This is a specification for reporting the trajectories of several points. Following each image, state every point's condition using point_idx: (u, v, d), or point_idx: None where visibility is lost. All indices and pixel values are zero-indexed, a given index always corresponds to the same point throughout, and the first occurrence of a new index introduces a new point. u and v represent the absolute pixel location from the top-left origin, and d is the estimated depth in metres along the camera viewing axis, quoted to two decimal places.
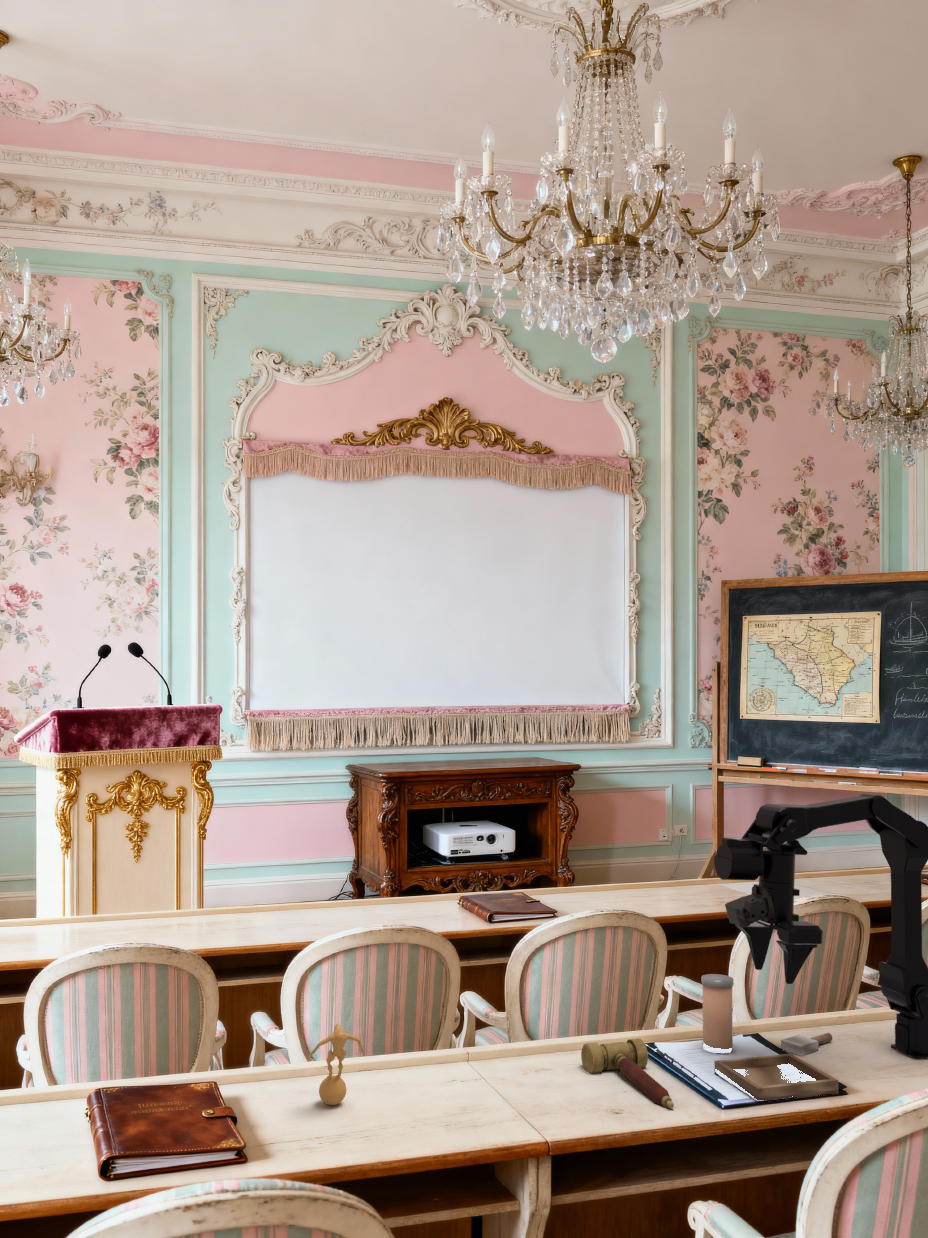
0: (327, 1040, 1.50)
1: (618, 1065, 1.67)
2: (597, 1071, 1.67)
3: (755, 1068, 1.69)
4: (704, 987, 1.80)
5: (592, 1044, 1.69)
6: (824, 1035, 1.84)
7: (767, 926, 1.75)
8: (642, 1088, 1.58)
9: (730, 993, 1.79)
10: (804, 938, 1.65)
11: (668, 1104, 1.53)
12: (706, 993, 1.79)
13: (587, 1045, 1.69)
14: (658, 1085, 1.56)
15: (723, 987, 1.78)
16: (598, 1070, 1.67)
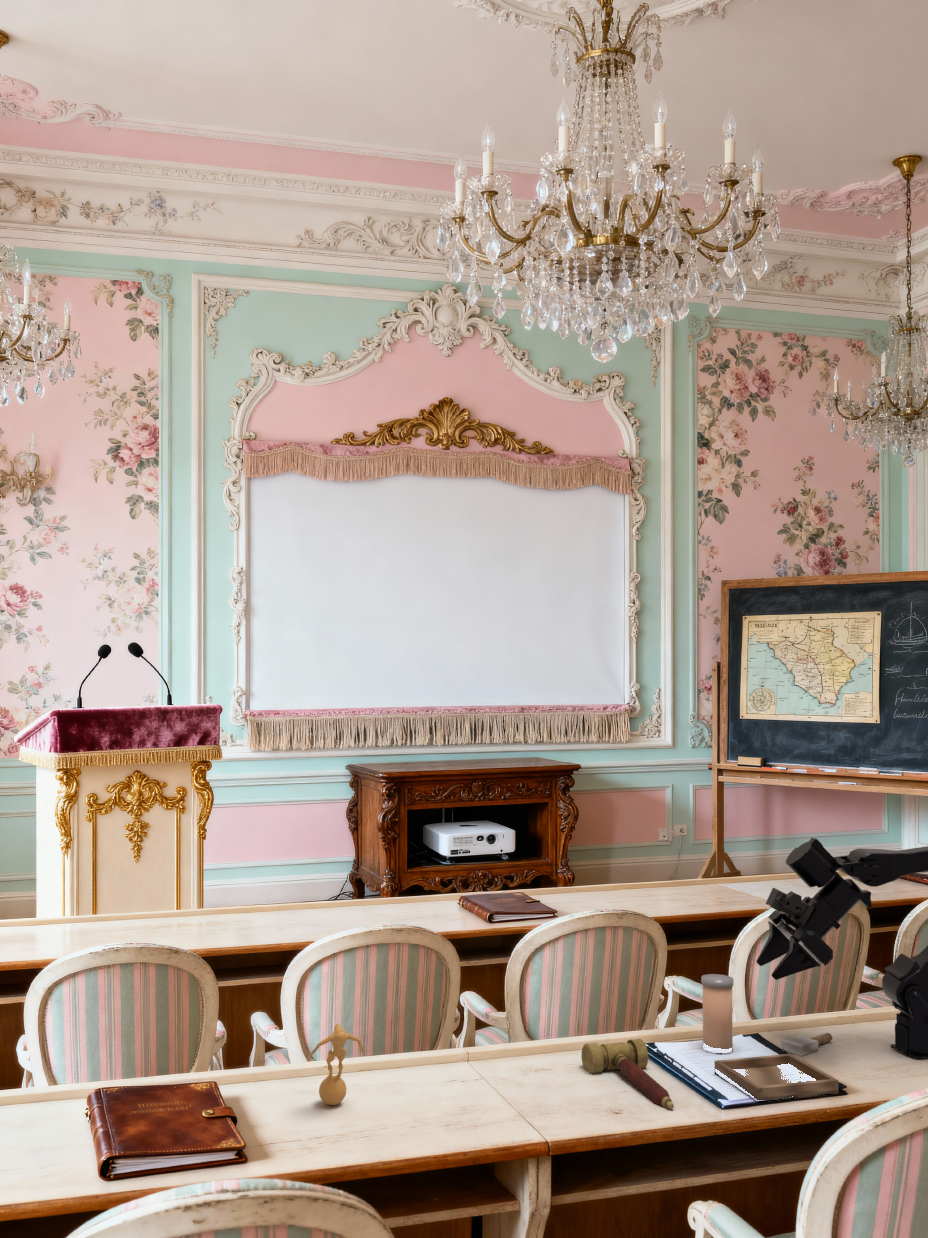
0: (327, 1040, 1.50)
1: (618, 1065, 1.66)
2: (597, 1071, 1.67)
3: (755, 1068, 1.69)
4: (704, 987, 1.80)
5: (592, 1044, 1.69)
6: (824, 1035, 1.84)
7: (792, 934, 1.83)
8: (642, 1089, 1.58)
9: (730, 993, 1.79)
10: (814, 947, 1.72)
11: (668, 1105, 1.52)
12: (706, 993, 1.79)
13: (587, 1045, 1.69)
14: (658, 1086, 1.56)
15: (723, 987, 1.78)
16: (598, 1070, 1.67)
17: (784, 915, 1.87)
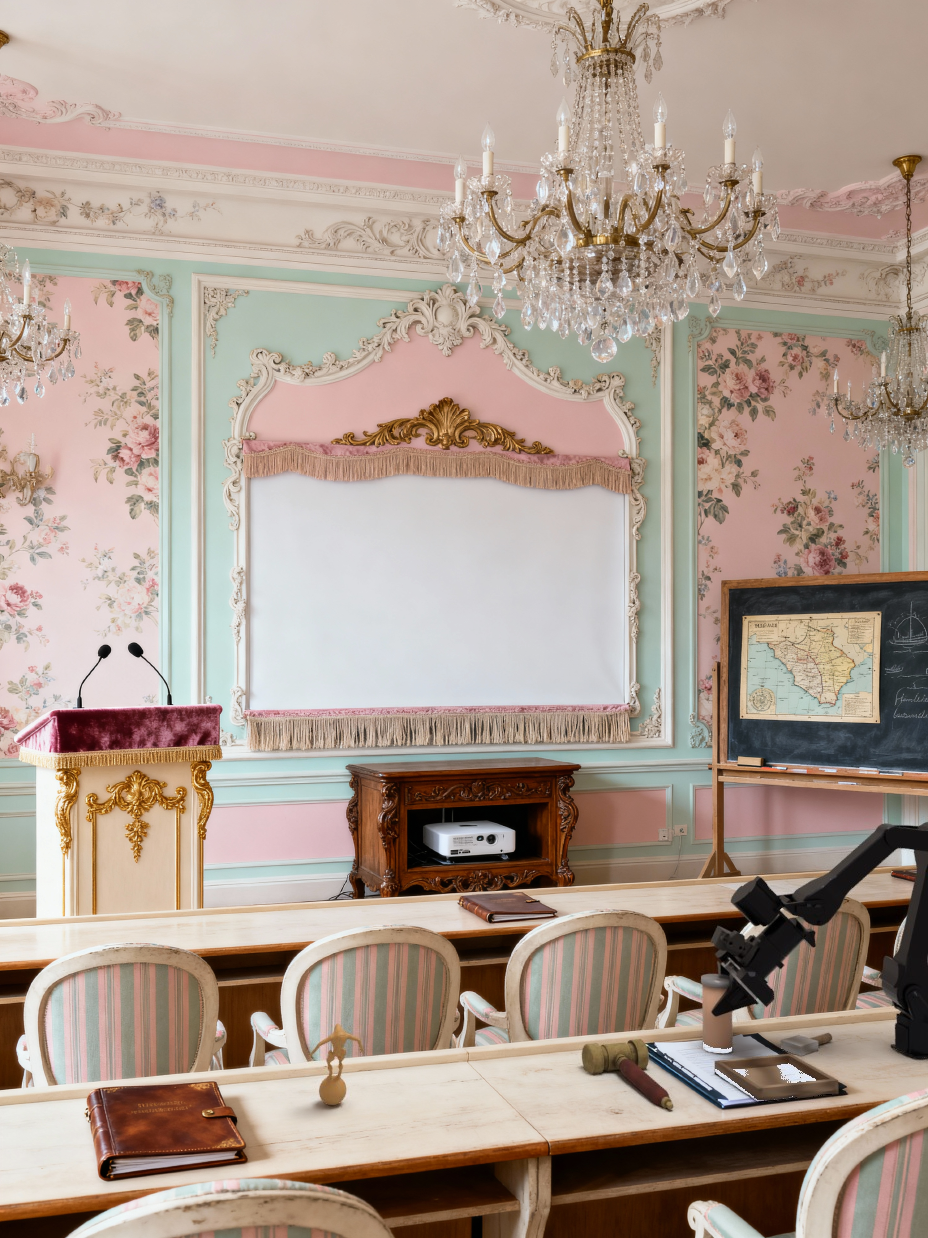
0: (327, 1040, 1.50)
1: (618, 1066, 1.66)
2: (597, 1072, 1.67)
3: (755, 1068, 1.69)
4: (704, 987, 1.80)
5: (592, 1045, 1.68)
6: (824, 1035, 1.84)
7: (737, 973, 1.82)
8: (642, 1089, 1.58)
9: None
10: (755, 988, 1.72)
11: (668, 1105, 1.52)
12: (706, 993, 1.79)
13: (587, 1046, 1.68)
14: (658, 1086, 1.56)
15: (723, 987, 1.78)
16: (598, 1071, 1.67)
17: (730, 953, 1.86)
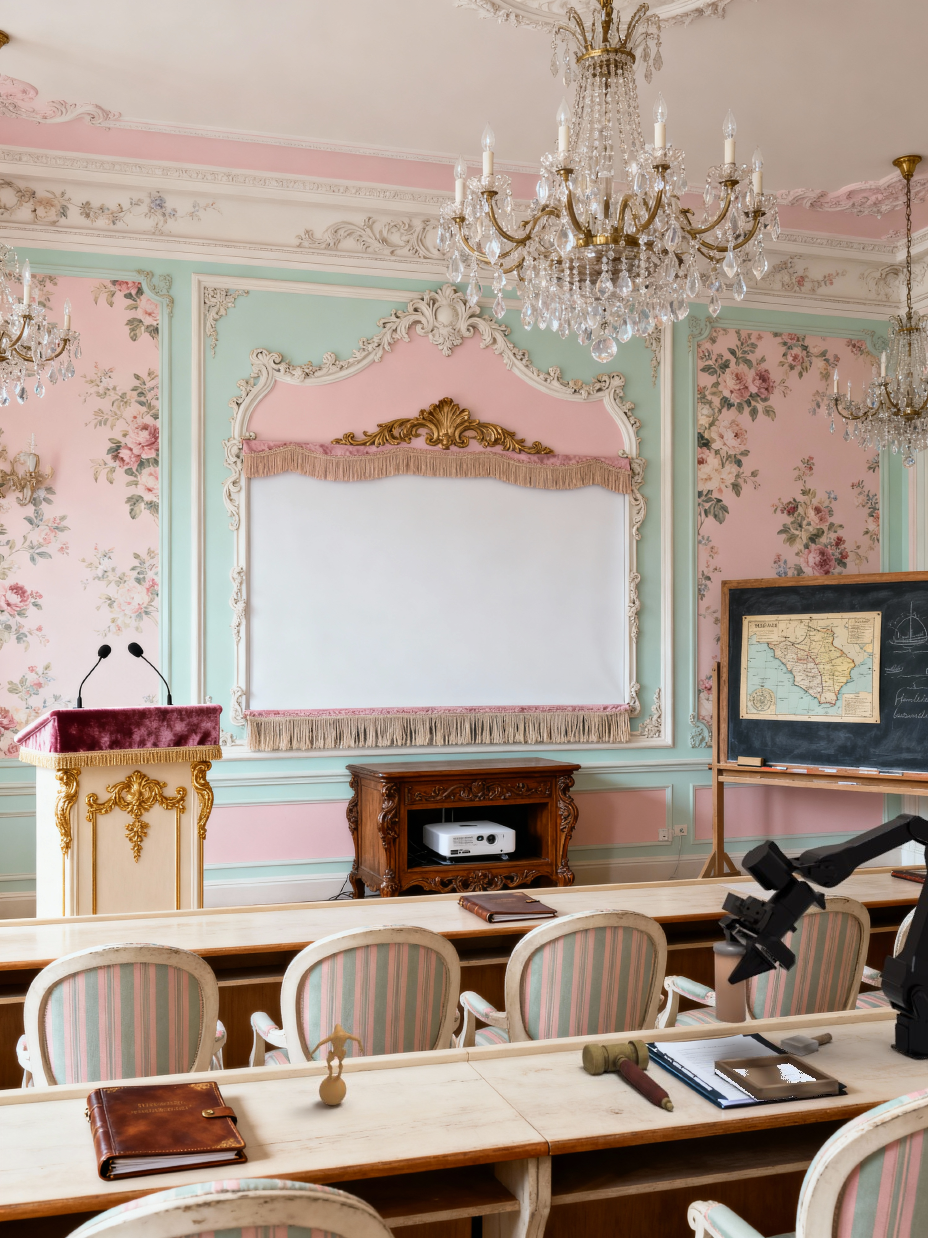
0: (327, 1040, 1.50)
1: (619, 1066, 1.66)
2: (598, 1072, 1.67)
3: (755, 1068, 1.69)
4: (718, 955, 1.75)
5: (593, 1045, 1.68)
6: (824, 1035, 1.84)
7: (747, 939, 1.78)
8: (642, 1090, 1.58)
9: None
10: (777, 952, 1.67)
11: (668, 1106, 1.52)
12: (720, 962, 1.74)
13: (588, 1046, 1.68)
14: (658, 1087, 1.56)
15: (738, 954, 1.73)
16: (599, 1071, 1.67)
17: (736, 920, 1.82)
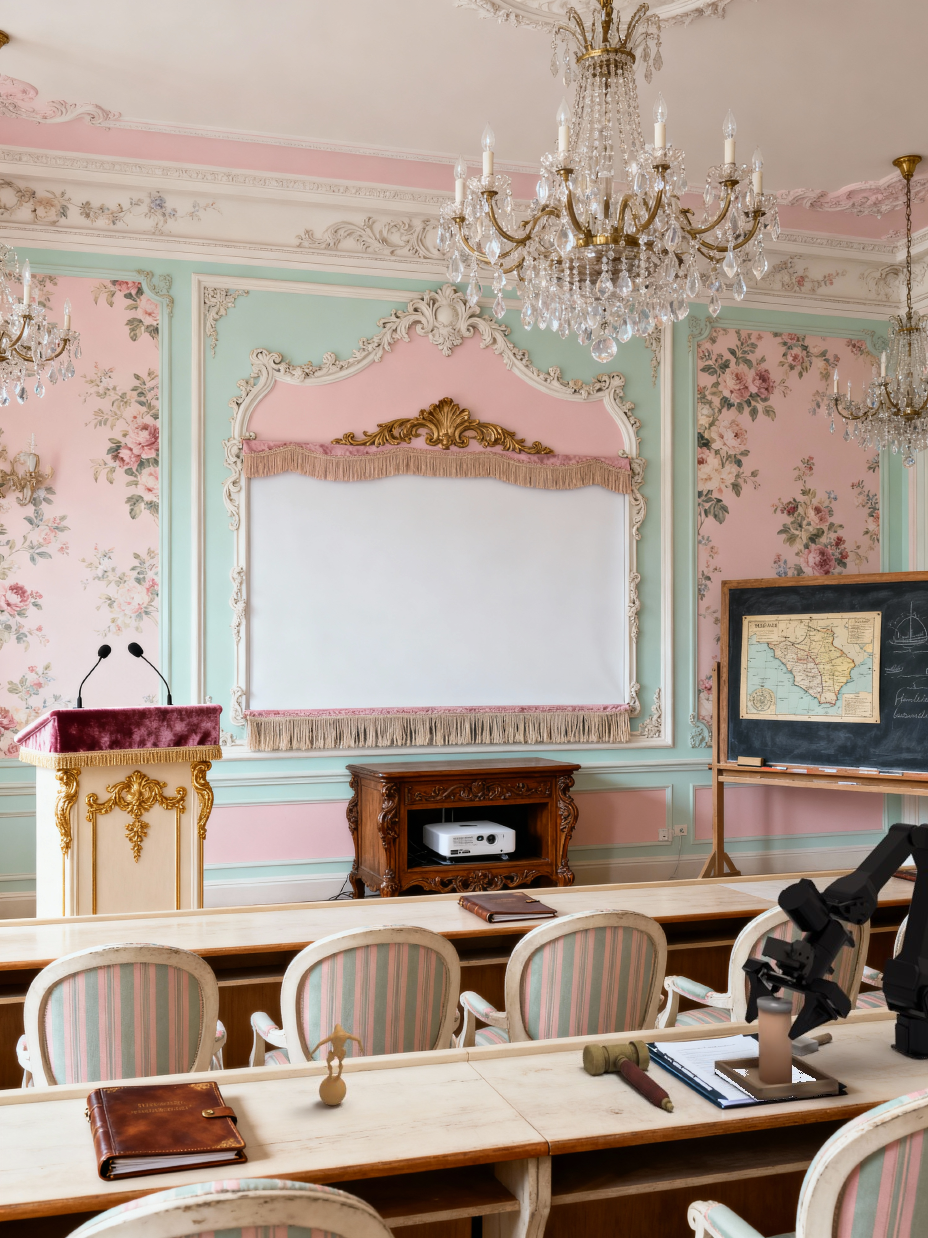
0: (327, 1040, 1.50)
1: (619, 1067, 1.66)
2: (598, 1073, 1.67)
3: (755, 1068, 1.69)
4: (766, 1013, 1.63)
5: (593, 1046, 1.68)
6: (824, 1035, 1.84)
7: (784, 985, 1.68)
8: (642, 1090, 1.58)
9: (791, 1016, 1.64)
10: (838, 1000, 1.59)
11: (668, 1106, 1.52)
12: (770, 1020, 1.62)
13: (588, 1047, 1.68)
14: (658, 1087, 1.55)
15: (789, 1011, 1.63)
16: (599, 1072, 1.66)
17: (765, 964, 1.72)
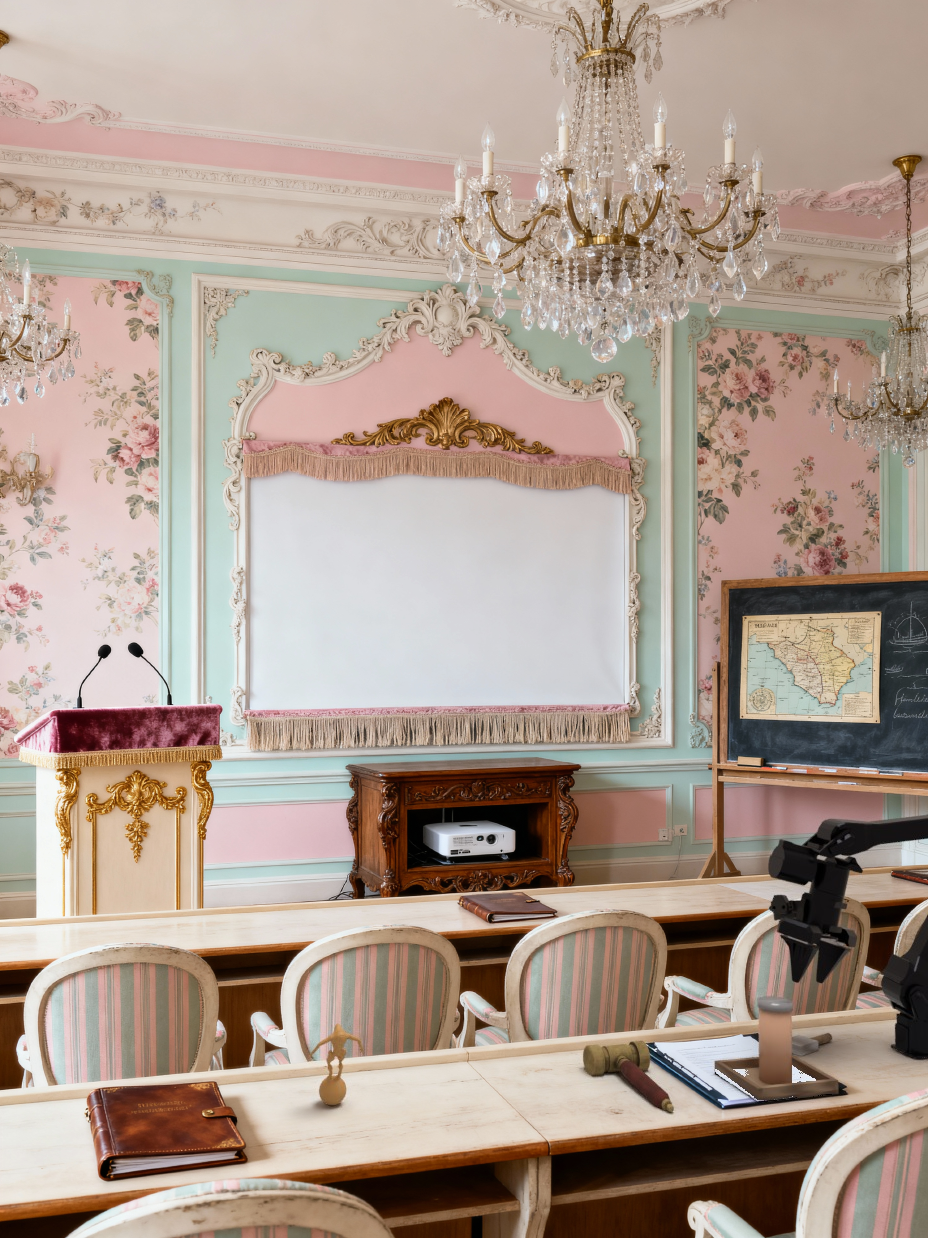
0: (327, 1040, 1.50)
1: (620, 1067, 1.65)
2: (598, 1073, 1.66)
3: (755, 1068, 1.69)
4: (767, 1013, 1.63)
5: (594, 1046, 1.68)
6: (824, 1035, 1.84)
7: None
8: (643, 1091, 1.57)
9: (791, 1016, 1.64)
10: (789, 931, 1.73)
11: (668, 1107, 1.51)
12: (771, 1020, 1.63)
13: (588, 1047, 1.68)
14: (658, 1088, 1.55)
15: (789, 1010, 1.63)
16: (599, 1072, 1.66)
17: None
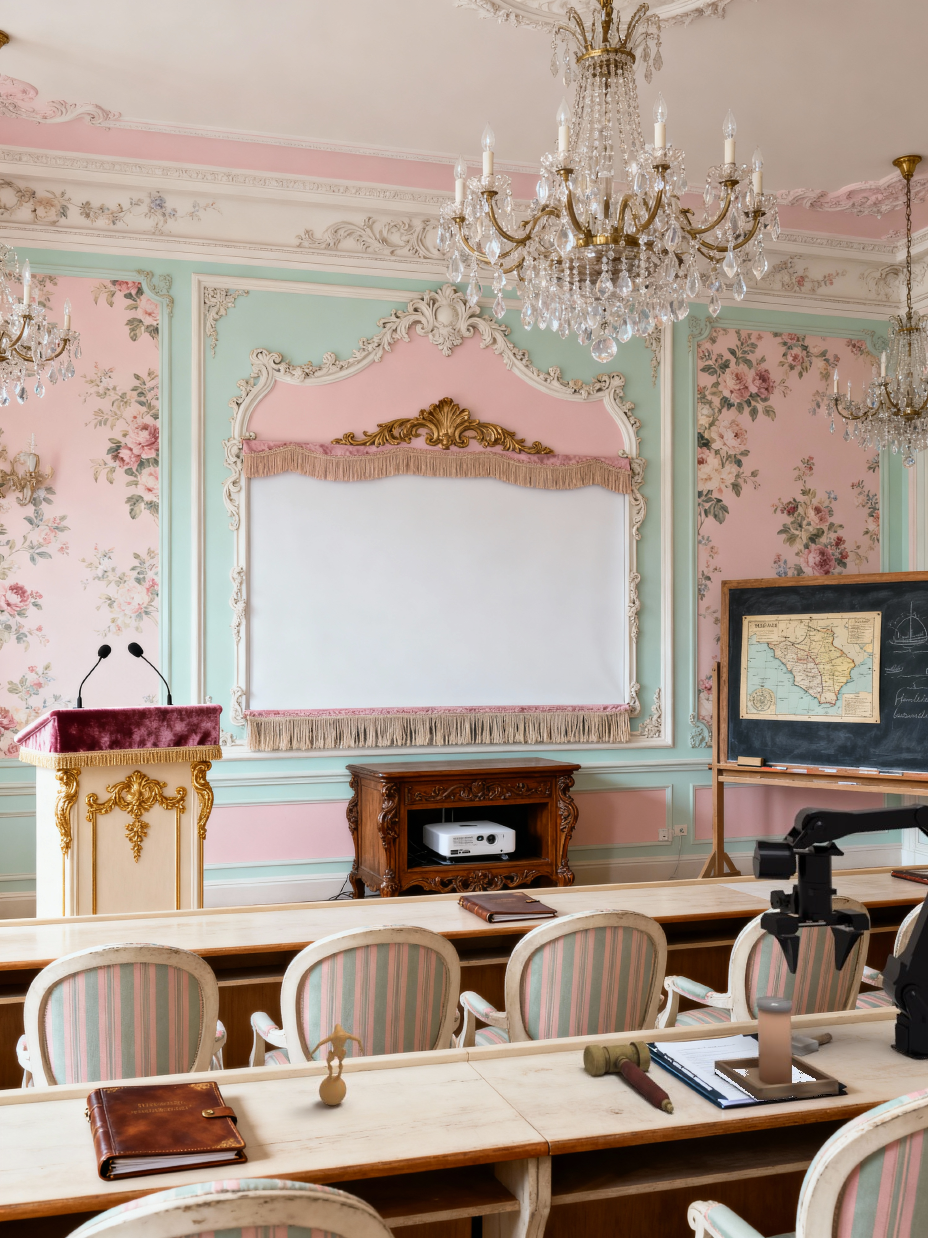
0: (327, 1040, 1.50)
1: (620, 1068, 1.65)
2: (599, 1073, 1.66)
3: (755, 1068, 1.69)
4: (766, 1013, 1.63)
5: (594, 1046, 1.68)
6: (824, 1035, 1.84)
7: None
8: (643, 1091, 1.57)
9: (790, 1015, 1.64)
10: (766, 925, 1.80)
11: (668, 1108, 1.51)
12: (770, 1020, 1.63)
13: (589, 1047, 1.68)
14: (659, 1088, 1.55)
15: (788, 1010, 1.63)
16: (600, 1072, 1.66)
17: None
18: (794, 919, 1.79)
